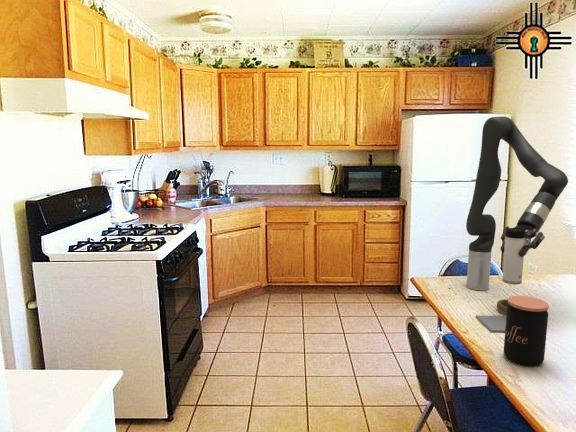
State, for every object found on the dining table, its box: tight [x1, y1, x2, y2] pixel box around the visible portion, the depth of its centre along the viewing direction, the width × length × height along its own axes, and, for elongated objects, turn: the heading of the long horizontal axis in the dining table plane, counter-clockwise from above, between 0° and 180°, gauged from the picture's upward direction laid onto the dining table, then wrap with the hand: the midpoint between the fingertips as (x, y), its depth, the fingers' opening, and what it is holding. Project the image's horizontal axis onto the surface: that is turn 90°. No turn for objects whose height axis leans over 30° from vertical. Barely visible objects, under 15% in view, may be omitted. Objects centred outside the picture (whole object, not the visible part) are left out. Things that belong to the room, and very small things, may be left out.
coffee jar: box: [503, 295, 550, 368], centre depth 127 cm, size 11×11×18 cm
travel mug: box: [501, 227, 527, 286], centre depth 154 cm, size 6×7×20 cm
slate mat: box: [475, 315, 506, 334], centre depth 153 cm, size 13×13×1 cm
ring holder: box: [496, 298, 509, 316], centre depth 165 cm, size 11×11×3 cm
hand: (511, 253), depth 153 cm, fingers closed on travel mug, 6 cm apart
